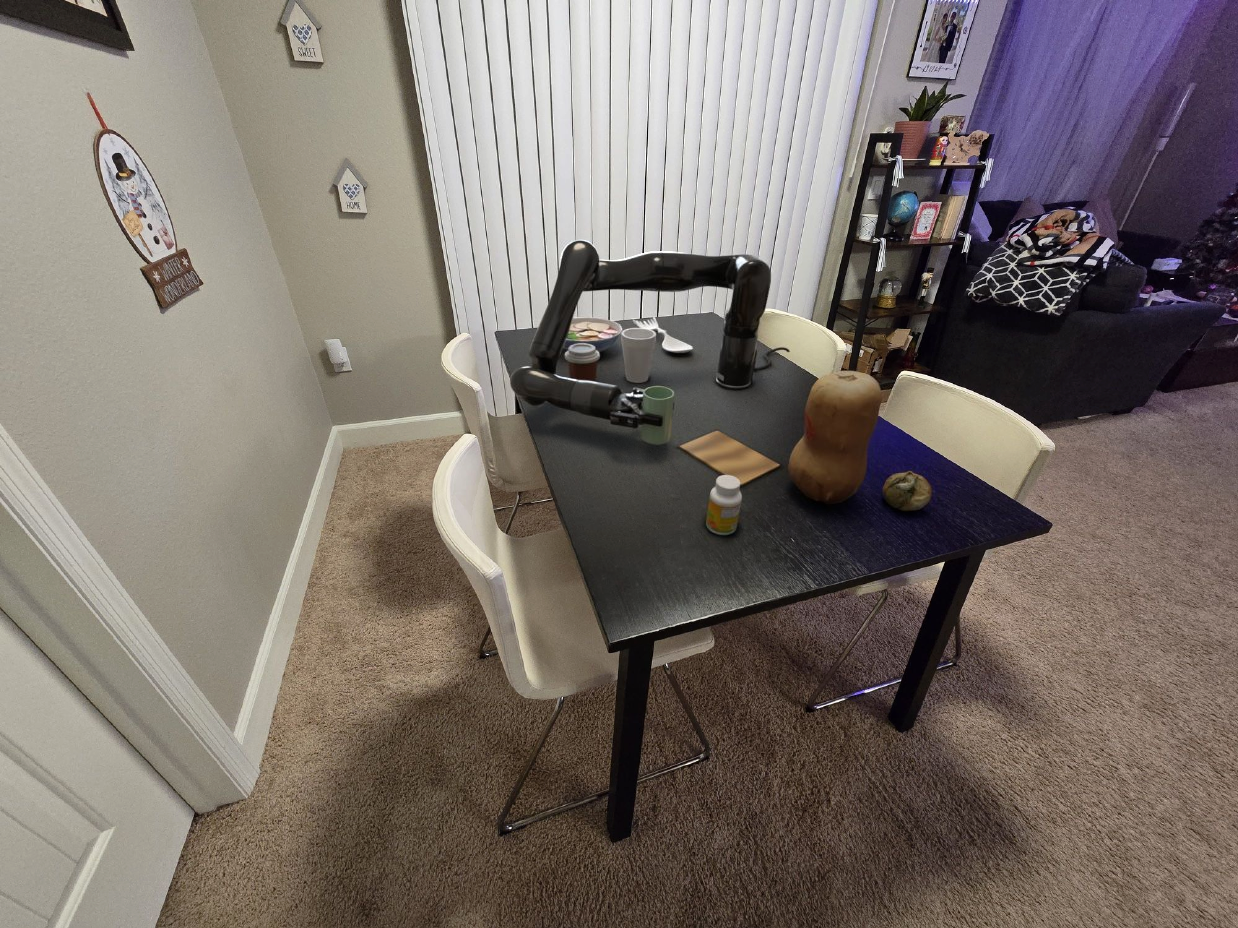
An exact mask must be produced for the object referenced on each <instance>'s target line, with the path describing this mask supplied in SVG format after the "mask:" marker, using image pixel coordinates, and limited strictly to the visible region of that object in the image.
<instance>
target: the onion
mask: <svg viewBox="0 0 1238 928" xmlns="http://www.w3.org/2000/svg"><path fill="white" fill-rule="evenodd" d="M932 492H933V491H932V486H931V484H930V483H929V481H928V480H927V479H926V478H925V477H924V476H922V475H920V474H917V473H915V472H913V471H912V470H908V471H907V472H898V473H894V474H891V475H890V476H889V477H888V478H887V479H886V480H885V482H884V485H883V486H882V496H883V498H884V500H885V501H886V503H887V504H888V505H890V506H891V507H892V508H894V509H897V510H900V511H903V512H910V511H918V510H921V509H922V508H924V507H925V506H926V505H928V503H930V501H931V498H932V495H933V494H932Z"/></svg>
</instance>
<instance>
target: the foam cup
mask: <svg viewBox="0 0 1238 928" xmlns="http://www.w3.org/2000/svg"><path fill="white" fill-rule="evenodd" d="M620 342H621V347H622V356H623V364H624V372H625V373H624V375H625V379H626V381H628V382H630V383H635V384H638V383H639V384H641V383H645V382H647V381H648V380H649V376H650V372H651V367H652V362H653V356H654V350H655V346H656V343H657V332H656V331H652V330H650V329H645V328H640V327H631V328H630V327H629V328H627V329H626V328H625V329H624V330H622V331H621V333H620Z"/></svg>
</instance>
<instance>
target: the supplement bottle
mask: <svg viewBox="0 0 1238 928" xmlns="http://www.w3.org/2000/svg"><path fill="white" fill-rule="evenodd" d="M740 488H741V486H740V481H739V479H738V478H736V477H734V476H731V475H722V474H721V475H719V476H718V477H717V478H716V479H715V485H714V486H713V488H712V489H711V490H710V494H709V498H708V505H707V512H706V513H707V514H706V520H705V525H706V527H707V529H708V530H709V531H710V532H711V533H713V534H716V535H719V536H728V535H731V534H733V533H735V532H736V530H737V528H738V523H739V518H740V511H741V507H742V501H743V495H742V492H741V490H740Z"/></svg>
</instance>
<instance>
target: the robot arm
mask: <svg viewBox="0 0 1238 928" xmlns="http://www.w3.org/2000/svg"><path fill="white" fill-rule="evenodd" d="M559 260H560V261H559V268H558V273H557V277H556V280H555V282H554V283H555V284H554V287H553V290H552V293H551V295H550V299H549V301H548V303H547V306H546V308H545V311H544V313H543V315H542V318H541V320H540V322H539V325H538V326H537V329H536V332H535V334H534V336H533V339H532V341H531V344H530V346H529V348H528V349H529V350H528V357H529V359H530V361H531V366H521V367H519V368H517V369H515V370H514V371H513V372H512V374H511V375H510V379H509V384H510V388H511V391H512V392H513V393H514V394H515V395H516V396H518V397H519V398H520V399H522V400H523V401H524V402H525V403H526V404H528V405H530V406H541V405H543V404H544V403H545V402H547V403H549V404H551V405H552V406H553V407H556V408H559V409H561V410H566V411H571V412H575V413H579V414H582V415H584V416H588V417H594V418H597V419H603V420H608V421H610V422H609V424H610V425H612V426H613V425H614V426H618V427H623V428H624V427H626V428H631V429H638V428H639V426H642V425H644V424H649V425H653V426H658V427H661V426H662V425H663V416H660V415H655V414H650V413H646V414H645V413H644V412H643V411H642V408H643V391H644V390H645V389H643V388H639V387H633V388H632V392H631V393H628V392H627V393H624V392H622V390H621V388H620V387H619V386H618V385H616V384H615V385H614V384H610V383H603V382H599V381H596V382H594V381H586V380H577V379H572V378H570V377H564V376H561V375H557V366H558V361H559V359H560V357H561V353H562V352H563V349H564V348H563V347H564V344H565V342H566V339H567V336H568V333H569V330H570V326H571V323H572V319H573V318H574V315H575V312H576V309H577V306H578V303H579V301H580V299H581V297H582V296H581V295H582V294H583V293H585V292H586V293H587V292H598V291H614V290H620V291H622V290H623V291H639V292H640V291H641V292H642V291H643V292H644V291H645V292H657V293H659V292H661V293H663V292H664V293H681V292H685V291H690V290H694V289H698V288H705V287H714V288H722V289H729V290H732V293H731V294H732V295H731V301H730V306H729V307H728V308H727V309H726V310H725V312H724V318H723V319H724V320H723V328H722V334H721V342H720V351H719V358H718V365H717V371H716V372H715V376H716V378H715V382H716V384H717V385H718V386H720V387H723V388H726V389H729V390H743V389H747V388H748V387H750V385H751V383H753V378H754V373H755V371H761V370H764V369H766V368H768V367H769V366H771V364H772V361H771V359H770V357H768V355H770V354H772V353H775V352H777V351H785V352H786V353H790V352H791V351H790V349H789V348H787V347H784V346H782V347H776V348H772V349H770V350H768V351H766V352H765V353H764V359H765V360H766V361H767V362H768V363H767V364H765V365H763V366H759V367H756V363H757V356H758V349H757V343H758V339H759V331H760V325H761V320H762V318H763V316H764V314H765V312H766V309H767V303H768V299H769V294H770V290H771V284H772V272H771V268H770V266H769V264H767V263H766V262H765V261H764V260H762V259H760V258H759V257H758V256H755V255H753V254H748V253H742V254H741V253H740V254H730V255H705V254H704V255H703V254H698V253H697V254H696V253H689V252H688V253H687V252H678V251H660V250H658V251H657V250H656V251H648V252H644V253H639V254H636V255H634V256H630V257H626V258H623V259H615V260H611V259H600V255H599V252H598V250H597V248H596V247H595V246H594V245H593V244H592V242H590V241H588V240H584V239H576V240H573V241H571V242H569V243H568V244H567V245H566V246H565V247H564V249H562V252H561V255H560V259H559ZM674 410H675V402H674V403H673V411H674Z"/></svg>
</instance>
